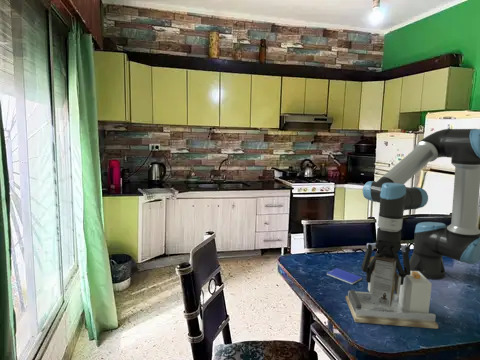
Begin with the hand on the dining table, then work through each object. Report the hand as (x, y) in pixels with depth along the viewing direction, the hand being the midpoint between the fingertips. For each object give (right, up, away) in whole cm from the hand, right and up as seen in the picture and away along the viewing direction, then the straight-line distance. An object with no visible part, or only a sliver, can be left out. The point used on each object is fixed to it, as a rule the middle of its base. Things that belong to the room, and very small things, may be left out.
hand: (383, 291), depth 117 cm
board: (+2, -8, +1) cm, 8 cm away
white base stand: (+2, -6, +1) cm, 7 cm away
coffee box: (0, -3, 0) cm, 3 cm away
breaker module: (+10, -6, 0) cm, 12 cm away
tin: (+12, -4, +30) cm, 32 cm away
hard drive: (-4, -4, +30) cm, 30 cm away
